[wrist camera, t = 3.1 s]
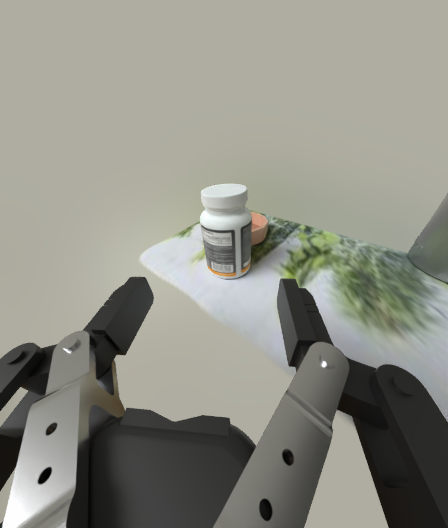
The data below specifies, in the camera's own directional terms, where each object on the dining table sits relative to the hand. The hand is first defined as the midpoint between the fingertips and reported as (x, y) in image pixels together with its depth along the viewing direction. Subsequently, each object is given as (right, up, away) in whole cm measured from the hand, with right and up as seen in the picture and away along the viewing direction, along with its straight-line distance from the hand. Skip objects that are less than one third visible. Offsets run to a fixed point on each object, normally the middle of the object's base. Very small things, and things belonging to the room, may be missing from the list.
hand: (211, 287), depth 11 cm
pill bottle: (+1, +1, +13) cm, 13 cm away
